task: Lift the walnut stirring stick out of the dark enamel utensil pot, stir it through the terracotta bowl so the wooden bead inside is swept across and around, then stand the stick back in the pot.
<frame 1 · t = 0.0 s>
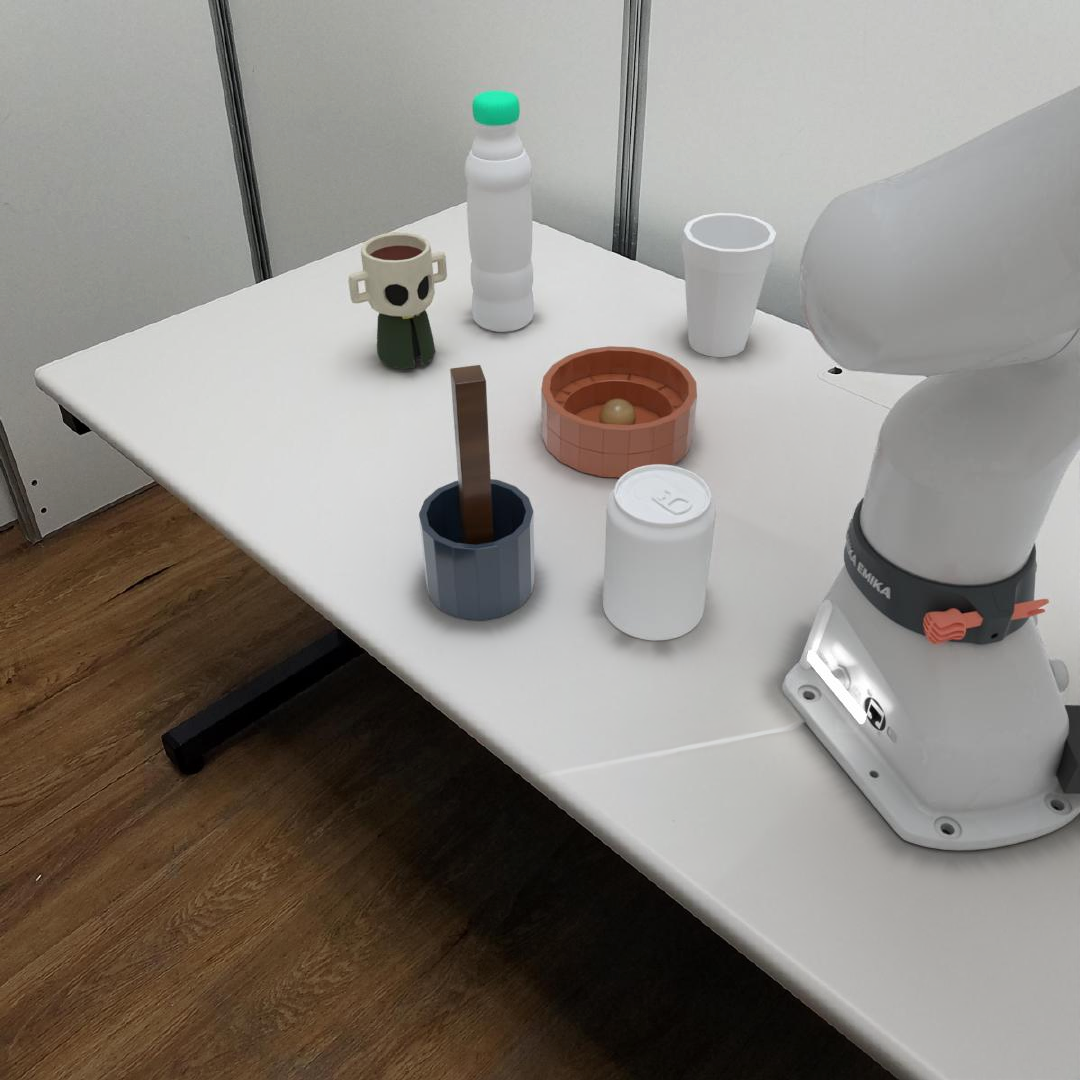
bead: (617, 417, 103), point 2 cm above the table, touching bowl
stick: (480, 582, 88), resting on utensil pot
water bottle: (503, 320, 123), on the table
character mug: (407, 359, 116), on the table
foam cup: (716, 344, 118), on the table
beverage can: (652, 612, 86), on the table
bowl: (616, 437, 105), on the table
utensil pot: (480, 587, 88), on the table
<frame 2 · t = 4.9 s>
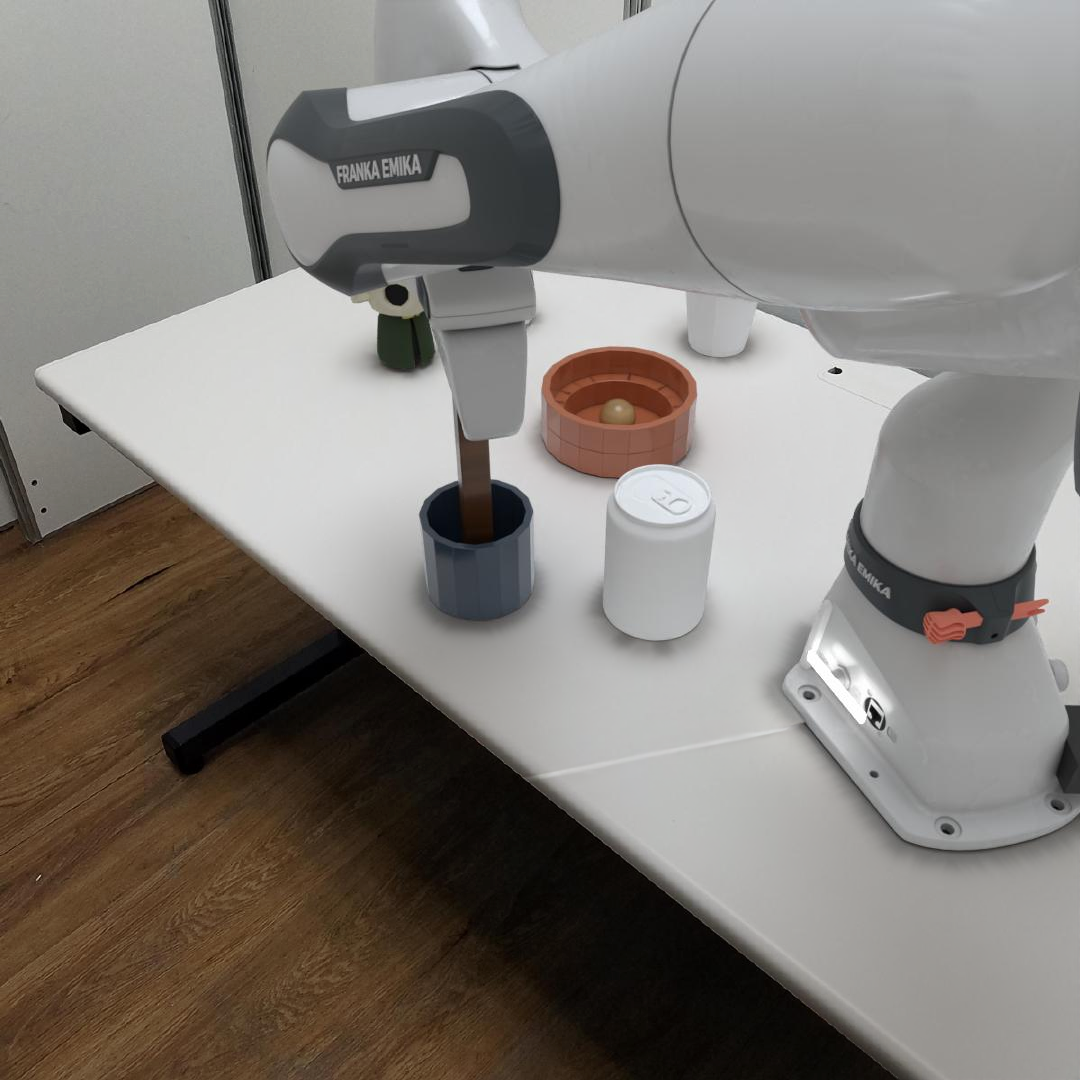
hand: (470, 420, 78), 17 cm above the table, tool pointing down, fingers closed on stick, 2 cm apart
stick: (480, 582, 88), point 1 cm above the table, touching gripper, utensil pot
everything else where it was.
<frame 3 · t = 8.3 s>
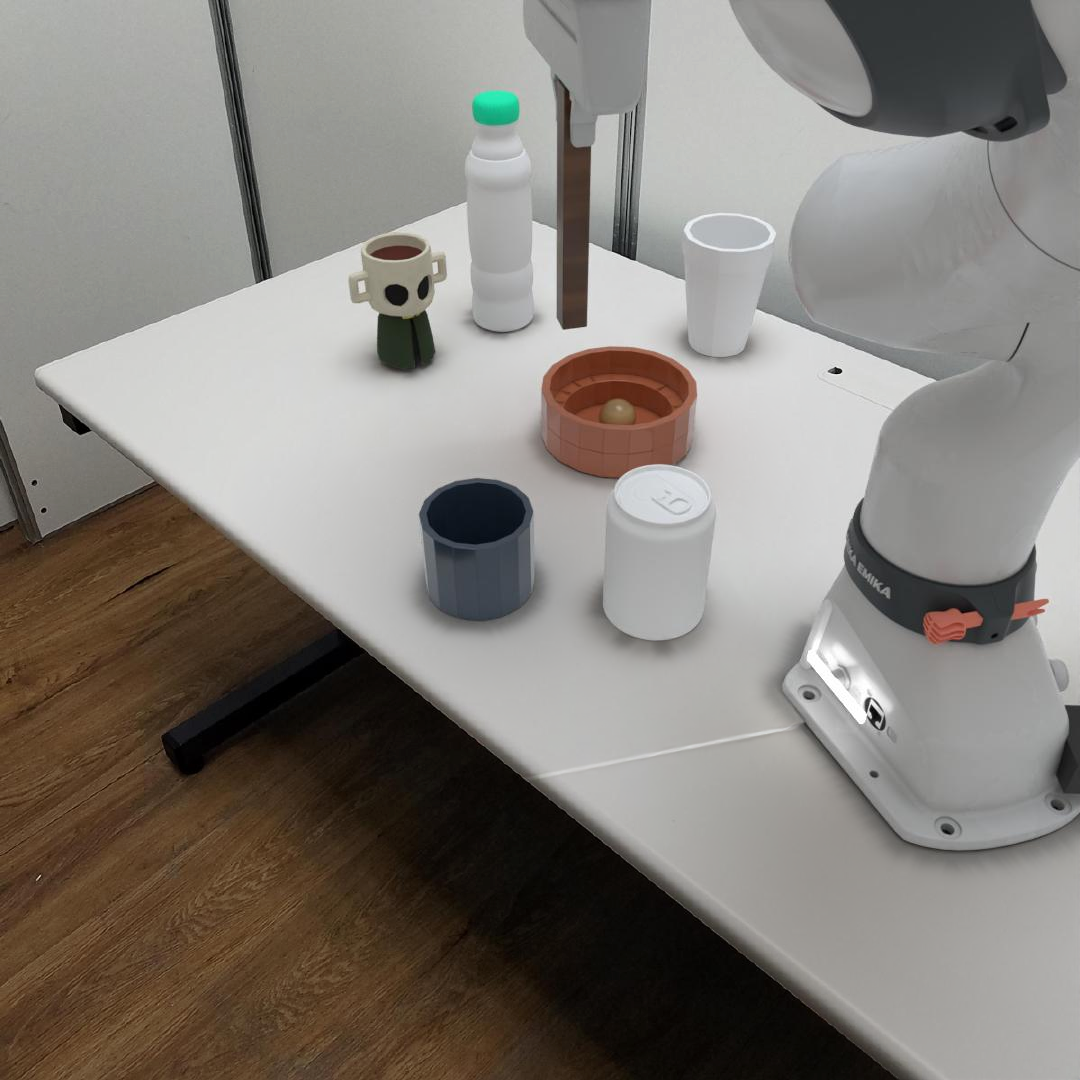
hand: (575, 135, 82), 31 cm above the table, tool pointing down, fingers closed on stick, 2 cm apart
stick: (571, 322, 92), point 15 cm above the table, touching gripper
everything else where it was.
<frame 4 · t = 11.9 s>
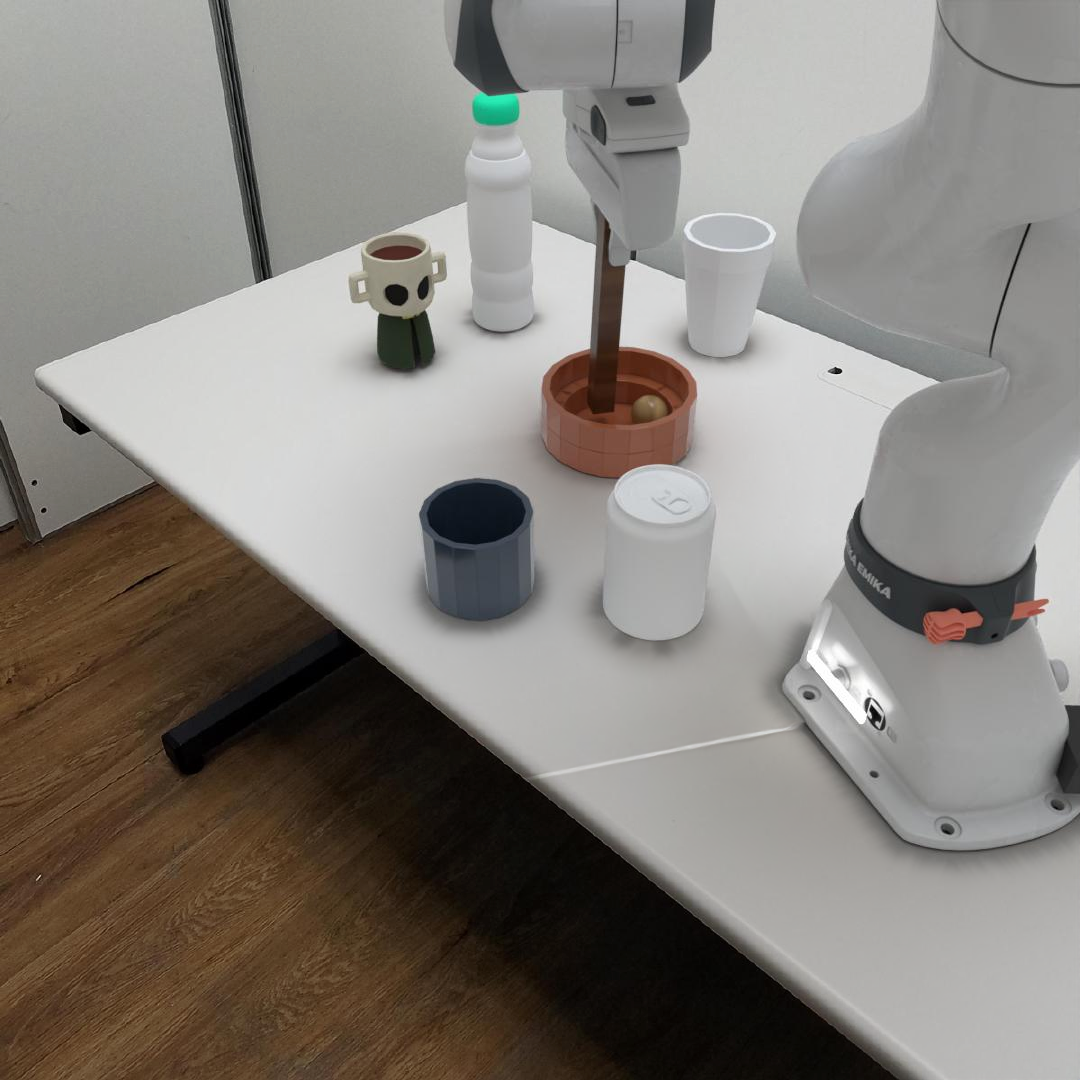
hand: (612, 253, 94), 19 cm above the table, tool pointing down, fingers closed on stick, 2 cm apart
bead: (649, 413, 103), point 2 cm above the table, tilted 101°, touching bowl
stick: (600, 407, 104), point 2 cm above the table, touching gripper
everything else where it was.
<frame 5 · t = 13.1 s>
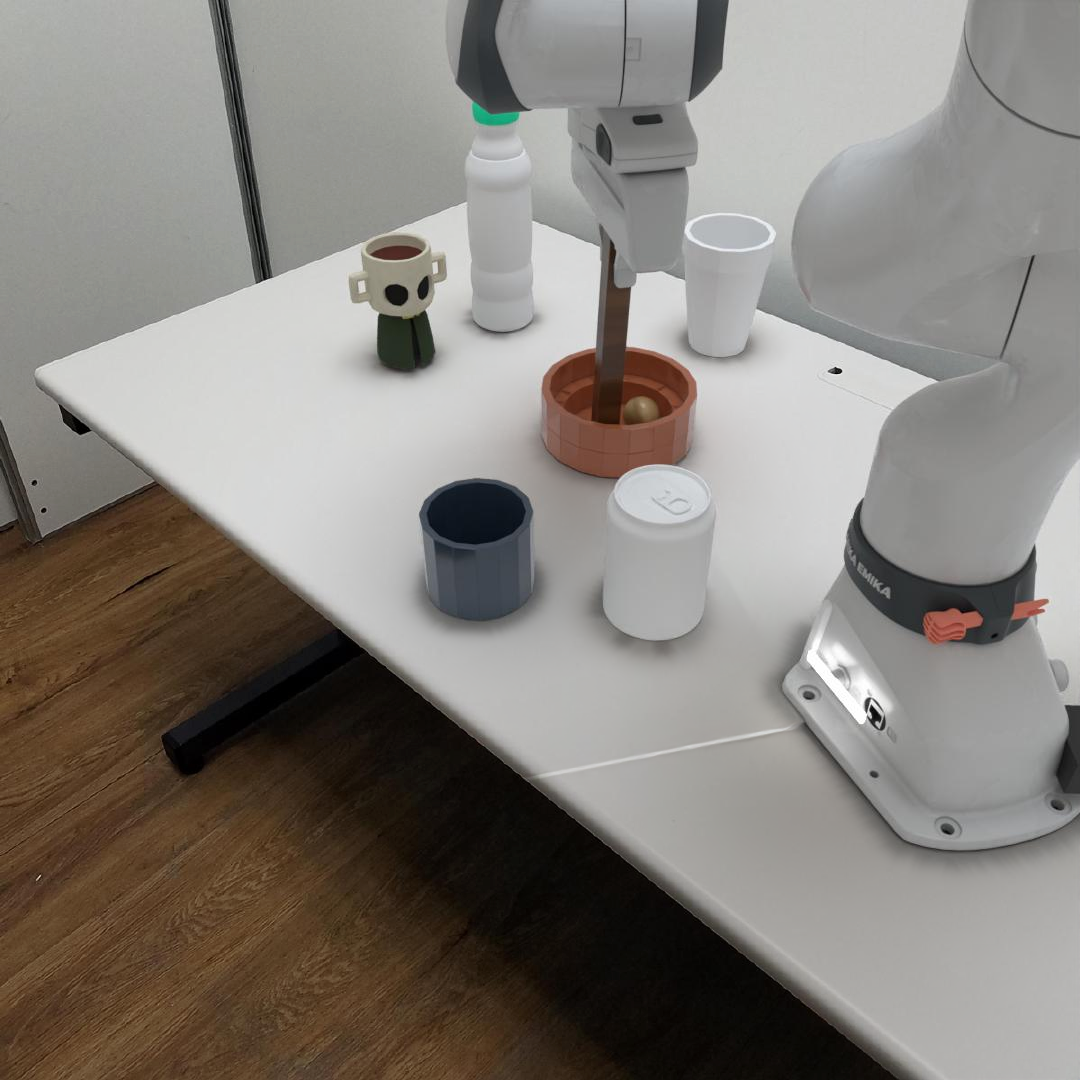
hand: (617, 274, 91), 18 cm above the table, tool pointing down, fingers closed on stick, 2 cm apart
bead: (641, 414, 103), point 2 cm above the table, tilted 74°, touching bowl
stick: (604, 431, 102), point 2 cm above the table, touching gripper
everything else where it was.
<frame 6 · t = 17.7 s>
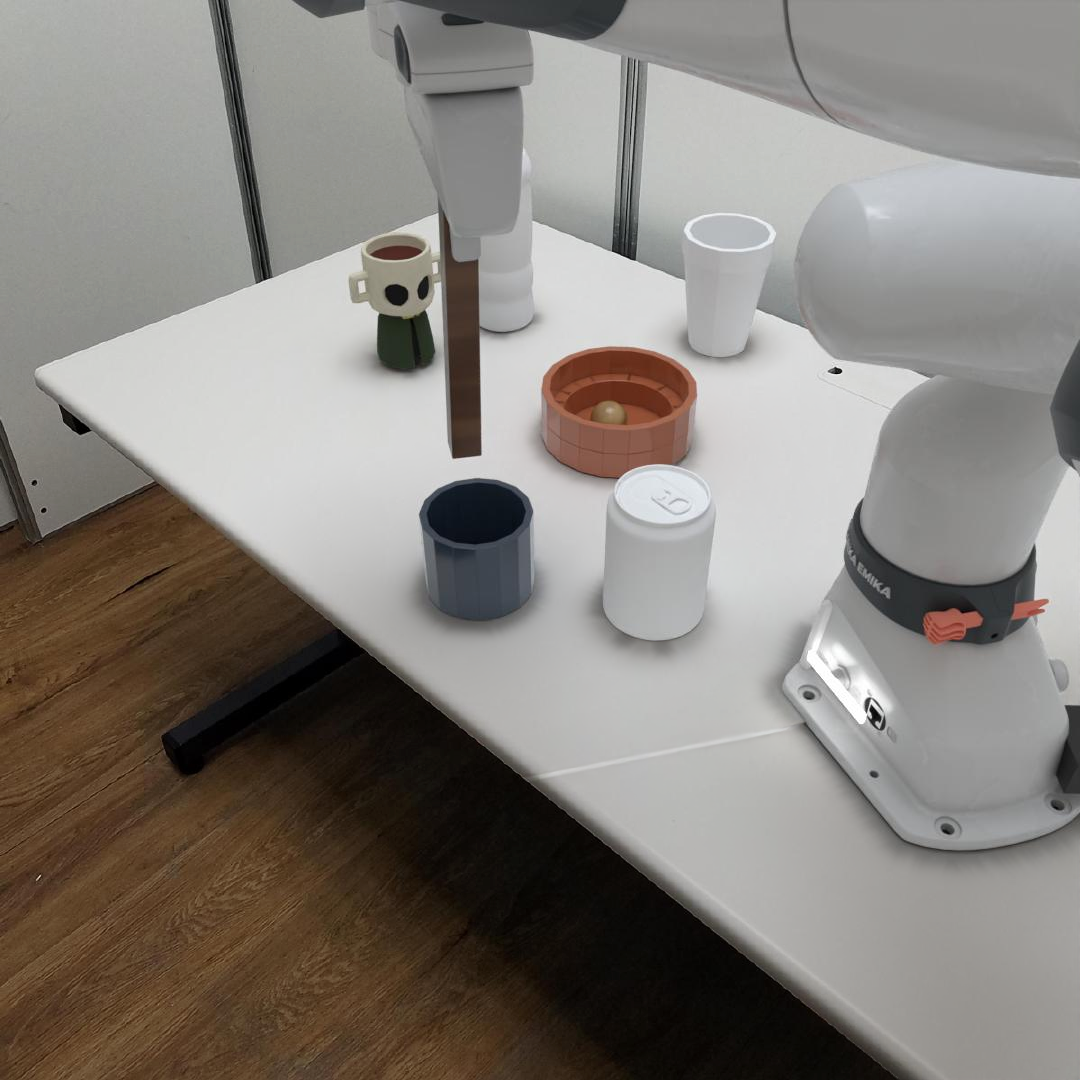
hand: (460, 244, 69), 30 cm above the table, tool pointing down, fingers closed on stick, 2 cm apart
bead: (608, 419, 103), point 2 cm above the table, tilted 29°, touching bowl
stick: (464, 449, 79), point 14 cm above the table, touching gripper
everything else where it was.
when the fingers open (17 cm above the table, at t = 21.5 s): stick stays where it is, resting on utensil pot.
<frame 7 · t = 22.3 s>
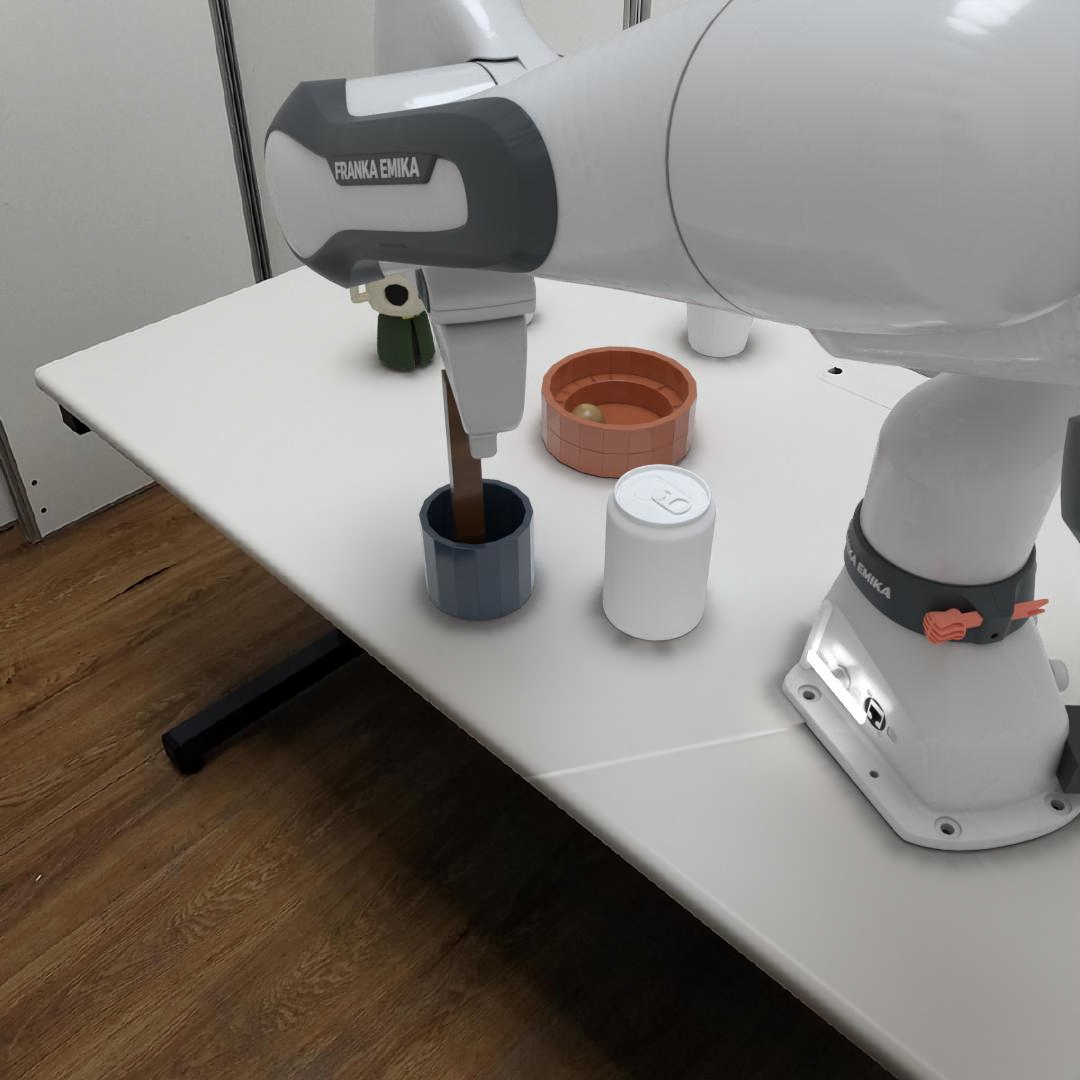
hand: (470, 415, 77), 17 cm above the table, tool pointing down, fingers open, 8 cm apart
bead: (586, 422, 102), point 2 cm above the table, tilted 100°, touching bowl
stick: (472, 583, 88), resting on utensil pot
everything else where it was.
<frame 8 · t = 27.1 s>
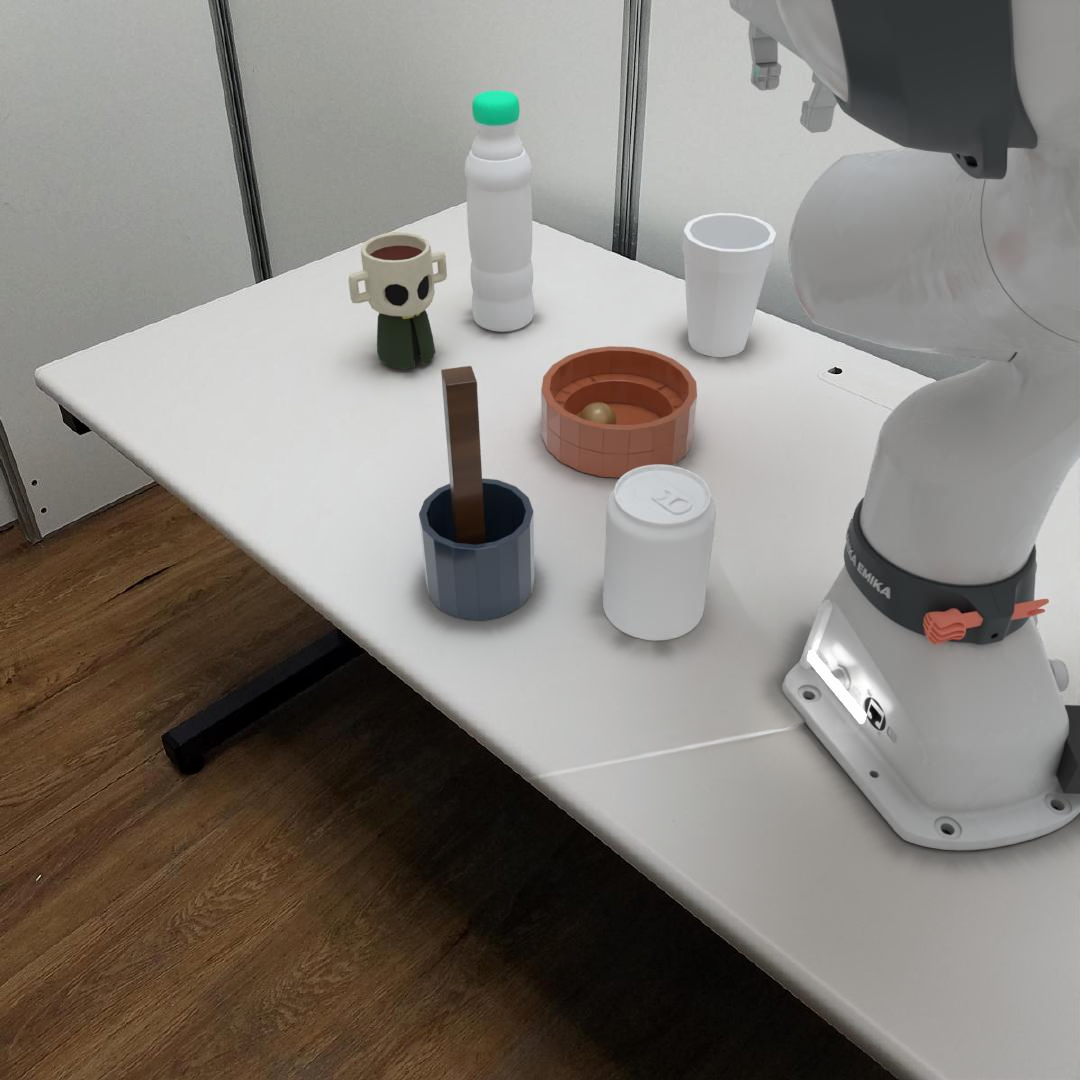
hand: (788, 107, 80), 33 cm above the table, tool pointing down, fingers open, 8 cm apart
bead: (597, 420, 103), point 2 cm above the table, tilted 65°, touching bowl
everything else where it was.
at the end: bead moved 2.0 cm from its start; bead inside the target area in the bowl (2.0 cm from its centre), point 2.4 cm above the bowl's base; stick 0.6 cm off-centre in the utensil pot, point 0.5 cm above the utensil pot's base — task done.
